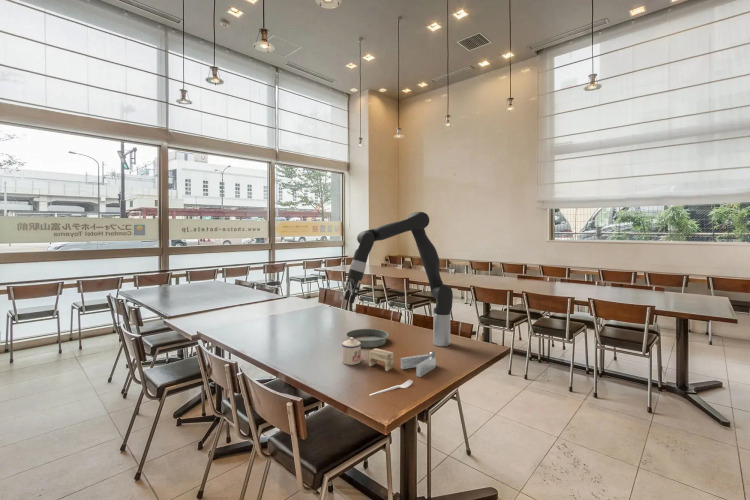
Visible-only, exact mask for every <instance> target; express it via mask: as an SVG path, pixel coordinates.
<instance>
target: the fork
mask: <svg viewBox="0 0 750 500" xmlns="http://www.w3.org/2000/svg"><path fill="white" fill-rule="evenodd" d="M413 383H414V381H413V380H411V379H408V380H407V381H405V382H403V383H402V384H399V385H398V384H397V385H393V386H391V387H388V388H386V389H382V390H378V391H376V392H373V393H371V394H369V396H373V395H378V394H381V393H385V392H389V391H392V390H395V389H398V388H399V389H405V388H408V387H410V386H411V385H412V384H413Z"/></svg>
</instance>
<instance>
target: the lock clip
mask: <svg viewBox="0 0 750 500" xmlns="http://www.w3.org/2000/svg"><path fill="white" fill-rule="evenodd" d="M378 361H381V362H384V371H385V372H388V371H390V370H392V369H393V368H394V352H392V351H388V350H384V349H379V348H376V347H374V348H373V349H371V350H369V351H368V366H369V367H373V366H374V365H376V364H378Z"/></svg>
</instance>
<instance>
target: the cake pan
mask: <svg viewBox="0 0 750 500" xmlns="http://www.w3.org/2000/svg"><path fill="white" fill-rule="evenodd" d="M389 334H390V333H388V332H387V331H385V330H383V329H378V328H377V329H376V328H358V329H353V330H349V331H347V332H346V333H345V334H344V336H345V337H346V338H347V339H346V340H349V338H350V337H353V338H354V339H355V340H356V341H359V342H360V343H361V348H376V347H380V346H383V345H385V344H386V343H387V338H388V337H389ZM359 337H365V338H362V339H359ZM357 338H358V339H357Z"/></svg>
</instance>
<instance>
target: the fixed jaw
mask: <svg viewBox="0 0 750 500" xmlns="http://www.w3.org/2000/svg"><path fill="white" fill-rule="evenodd" d="M436 359H437V358H436V356H435V357H433V356H431V357H430V356H429V358H428V359H426V360H424V361H423V362H421V363H419V364H417V365H416V367H415V369H416V370H415V371H416V374H415V376H416V377H418V378H421V377H423V376H425V375H426V374H428V373H429V372H431V371H432V370H434V369H435V368H436Z"/></svg>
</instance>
